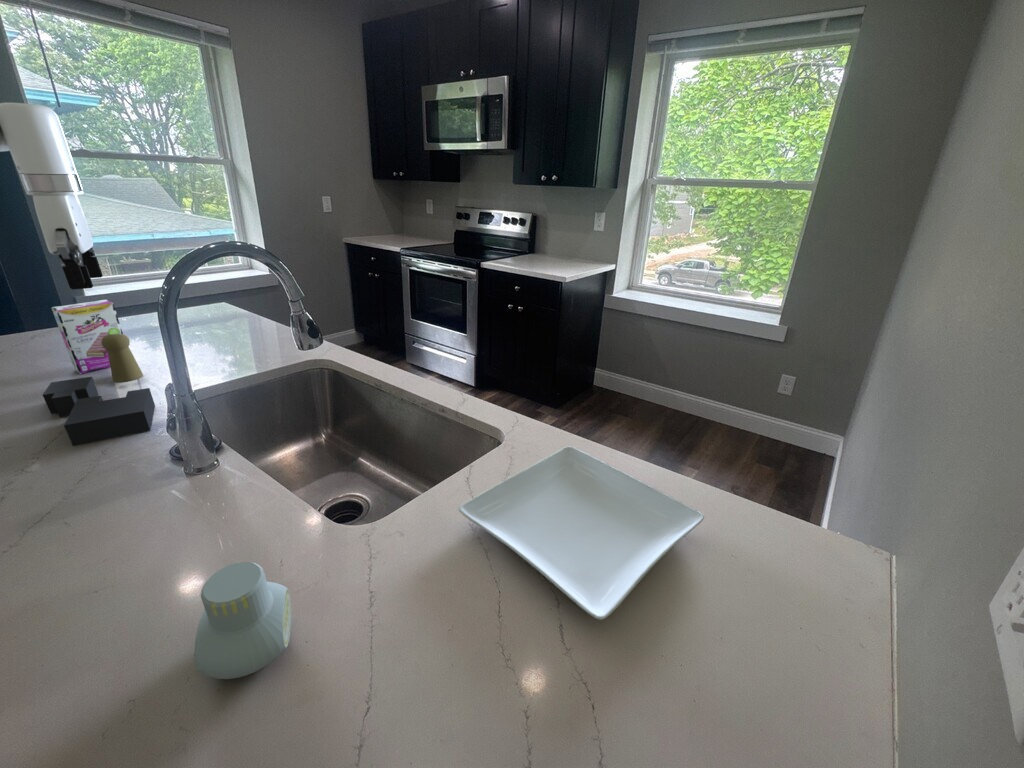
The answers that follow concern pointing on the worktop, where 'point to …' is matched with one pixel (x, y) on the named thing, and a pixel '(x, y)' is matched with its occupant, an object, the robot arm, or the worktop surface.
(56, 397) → the pad
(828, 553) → the worktop surface
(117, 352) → the cork
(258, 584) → the air freshener
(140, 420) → the notch pad
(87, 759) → the worktop surface
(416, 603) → the worktop surface
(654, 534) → the square plate
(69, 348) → the candy bar box
